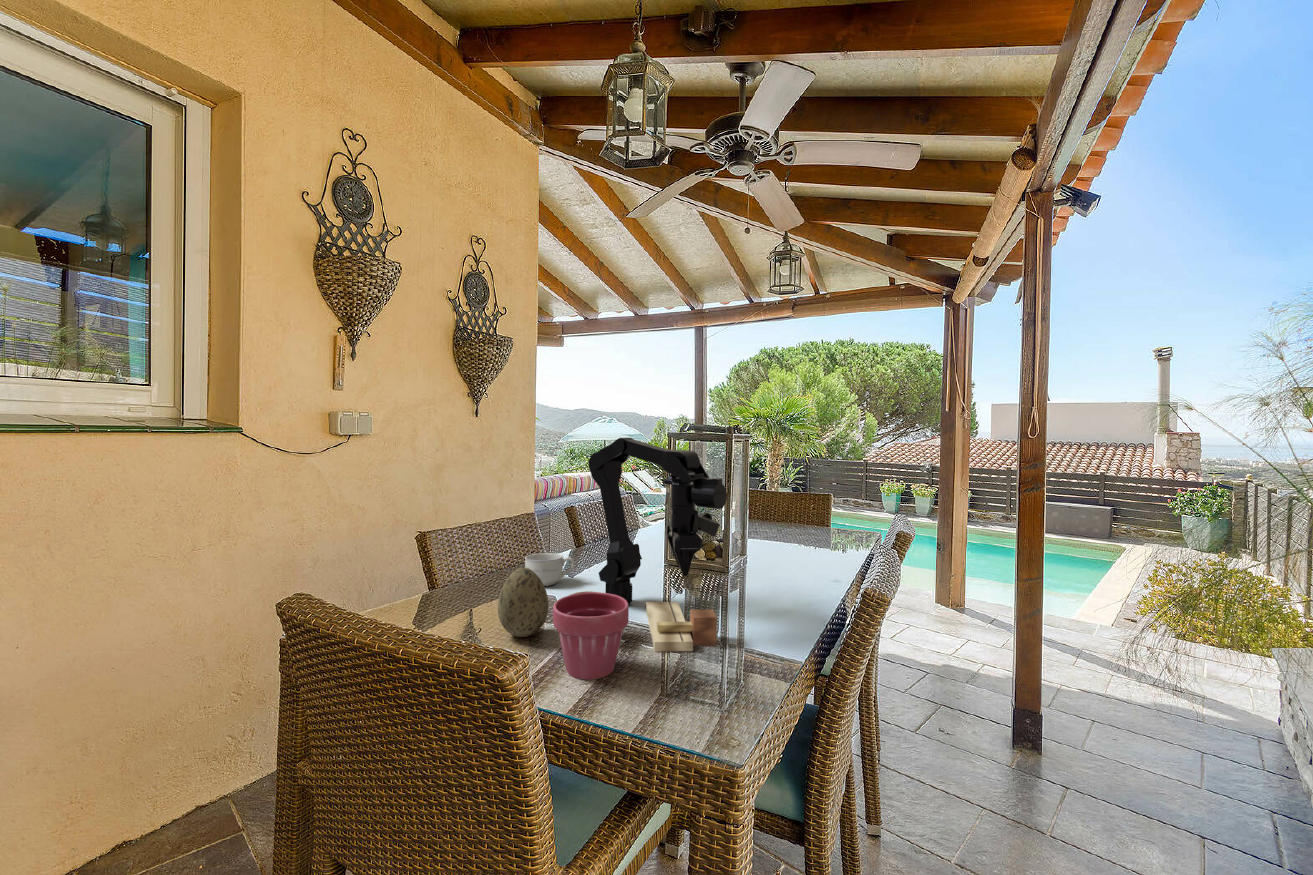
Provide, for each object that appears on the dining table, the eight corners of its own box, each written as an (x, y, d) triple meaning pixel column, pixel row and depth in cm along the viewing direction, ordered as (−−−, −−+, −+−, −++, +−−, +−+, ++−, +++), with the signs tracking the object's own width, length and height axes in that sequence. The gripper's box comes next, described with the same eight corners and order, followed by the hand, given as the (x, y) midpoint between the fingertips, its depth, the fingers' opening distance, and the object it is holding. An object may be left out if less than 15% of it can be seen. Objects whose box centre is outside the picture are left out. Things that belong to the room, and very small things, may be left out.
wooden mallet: (657, 646, 121) (658, 618, 121) (655, 636, 126) (656, 610, 126) (716, 645, 122) (716, 617, 122) (711, 636, 127) (712, 609, 127)
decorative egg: (487, 640, 122) (487, 570, 121) (517, 623, 132) (517, 559, 131) (529, 649, 118) (530, 577, 117) (557, 631, 128) (558, 564, 127)
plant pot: (562, 692, 100) (563, 620, 100) (544, 660, 113) (545, 596, 113) (638, 679, 106) (639, 610, 105) (613, 649, 119) (614, 588, 118)
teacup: (518, 587, 159) (518, 559, 159) (533, 576, 170) (533, 550, 169) (566, 591, 157) (567, 562, 156) (578, 580, 167) (579, 552, 167)
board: (654, 651, 118) (654, 641, 118) (645, 609, 143) (646, 601, 143) (692, 651, 119) (693, 641, 119) (677, 609, 144) (677, 601, 144)
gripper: (725, 510, 126) (724, 581, 126) (709, 498, 144) (708, 560, 145) (675, 511, 125) (674, 582, 125) (665, 498, 143) (664, 560, 144)
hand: (682, 570), depth 135 cm, fingers open, 9 cm apart
